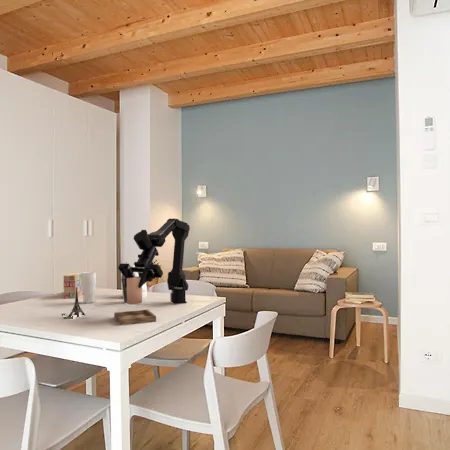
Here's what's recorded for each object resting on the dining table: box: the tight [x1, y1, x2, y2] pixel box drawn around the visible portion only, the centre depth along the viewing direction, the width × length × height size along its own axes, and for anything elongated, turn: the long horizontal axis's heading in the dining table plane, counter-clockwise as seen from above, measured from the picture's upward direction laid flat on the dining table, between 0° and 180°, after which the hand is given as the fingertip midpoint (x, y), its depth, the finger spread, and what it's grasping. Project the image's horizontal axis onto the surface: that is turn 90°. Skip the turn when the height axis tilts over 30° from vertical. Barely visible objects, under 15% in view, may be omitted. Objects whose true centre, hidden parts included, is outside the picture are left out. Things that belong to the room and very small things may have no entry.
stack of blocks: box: [63, 272, 83, 299], centre depth 222 cm, size 21×6×12 cm, turn 179°
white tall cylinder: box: [81, 271, 97, 304], centre depth 199 cm, size 7×7×15 cm
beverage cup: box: [120, 261, 135, 304], centre depth 199 cm, size 7×7×20 cm
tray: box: [113, 309, 157, 326], centre depth 162 cm, size 14×14×2 cm
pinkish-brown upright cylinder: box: [126, 277, 143, 305], centre depth 162 cm, size 6×6×10 cm
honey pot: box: [121, 265, 148, 299], centre depth 215 cm, size 13×13×18 cm
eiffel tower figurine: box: [61, 288, 86, 320], centre depth 169 cm, size 15×10×13 cm
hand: (132, 286), depth 161 cm, fingers closed on pinkish-brown upright cylinder, 6 cm apart
